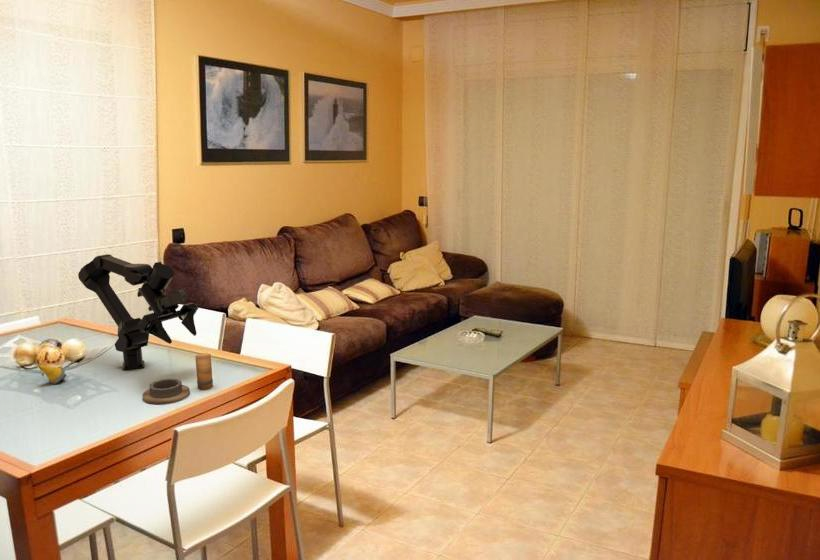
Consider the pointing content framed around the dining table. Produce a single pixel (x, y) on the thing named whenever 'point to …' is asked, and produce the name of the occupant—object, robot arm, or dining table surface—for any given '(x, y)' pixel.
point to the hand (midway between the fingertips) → (183, 338)
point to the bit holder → (166, 392)
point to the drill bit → (53, 373)
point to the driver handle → (204, 371)
